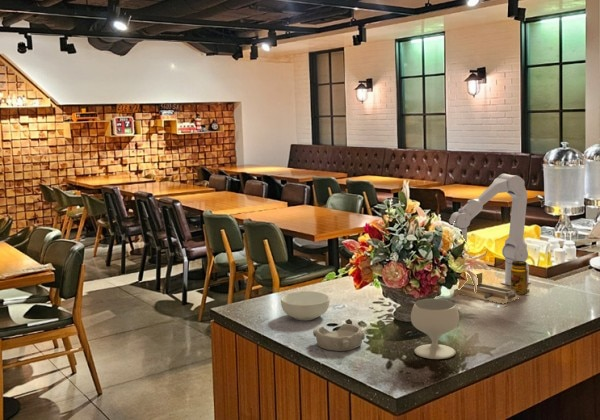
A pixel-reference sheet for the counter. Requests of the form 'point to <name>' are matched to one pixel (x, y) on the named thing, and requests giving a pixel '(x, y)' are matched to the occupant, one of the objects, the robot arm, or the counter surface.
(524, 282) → the condiment
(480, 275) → the pale yellow cube
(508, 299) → the wooden tray
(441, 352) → the chalice
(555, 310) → the counter surface
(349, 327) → the dish
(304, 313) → the cereal bowl
